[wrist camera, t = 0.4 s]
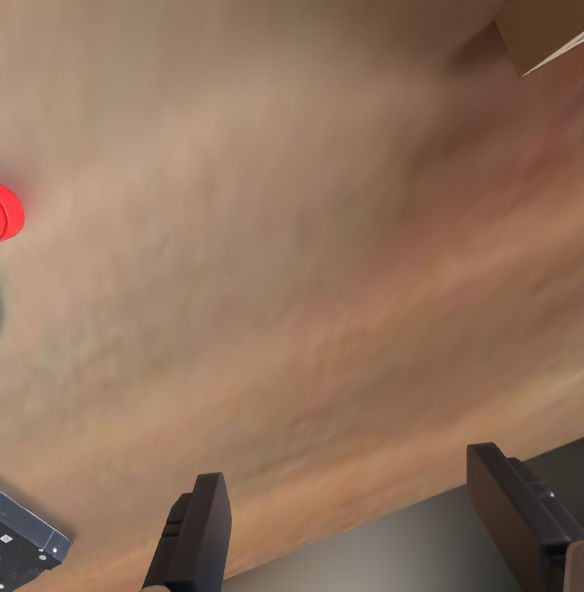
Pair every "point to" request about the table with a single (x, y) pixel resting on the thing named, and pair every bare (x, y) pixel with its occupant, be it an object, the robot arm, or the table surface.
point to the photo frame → (540, 30)
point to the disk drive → (26, 545)
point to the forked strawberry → (9, 214)
